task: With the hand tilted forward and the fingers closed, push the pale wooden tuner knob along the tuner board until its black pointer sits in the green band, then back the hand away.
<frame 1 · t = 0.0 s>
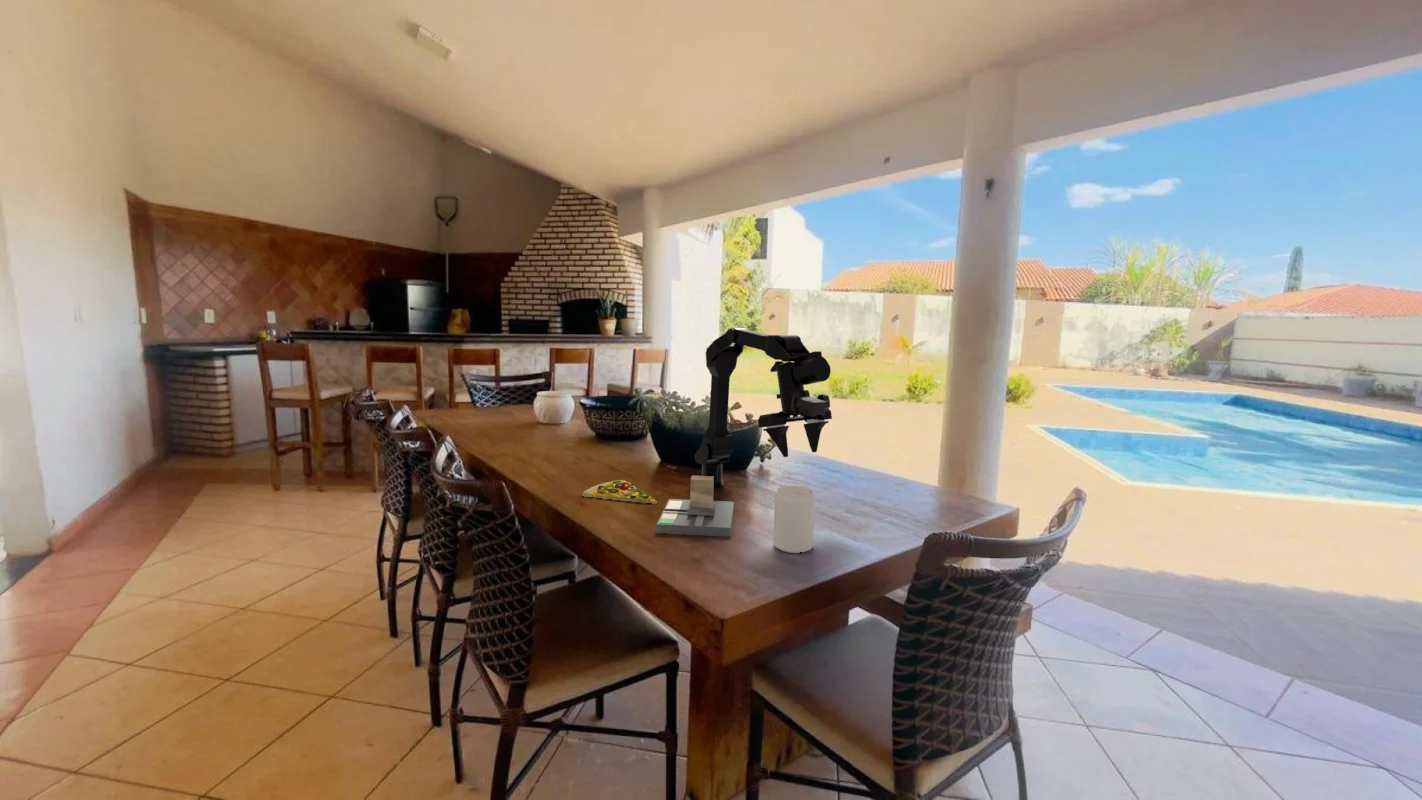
hand: (800, 454, 133), 15 cm above the table, tool pointing down, fingers open, 9 cm apart
pizza slice: (627, 499, 149), on the table
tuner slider: (689, 494, 130), point 6 cm above the table, slide at 0.0 cm
tuner board: (697, 520, 132), on the table
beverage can: (792, 548, 118), on the table
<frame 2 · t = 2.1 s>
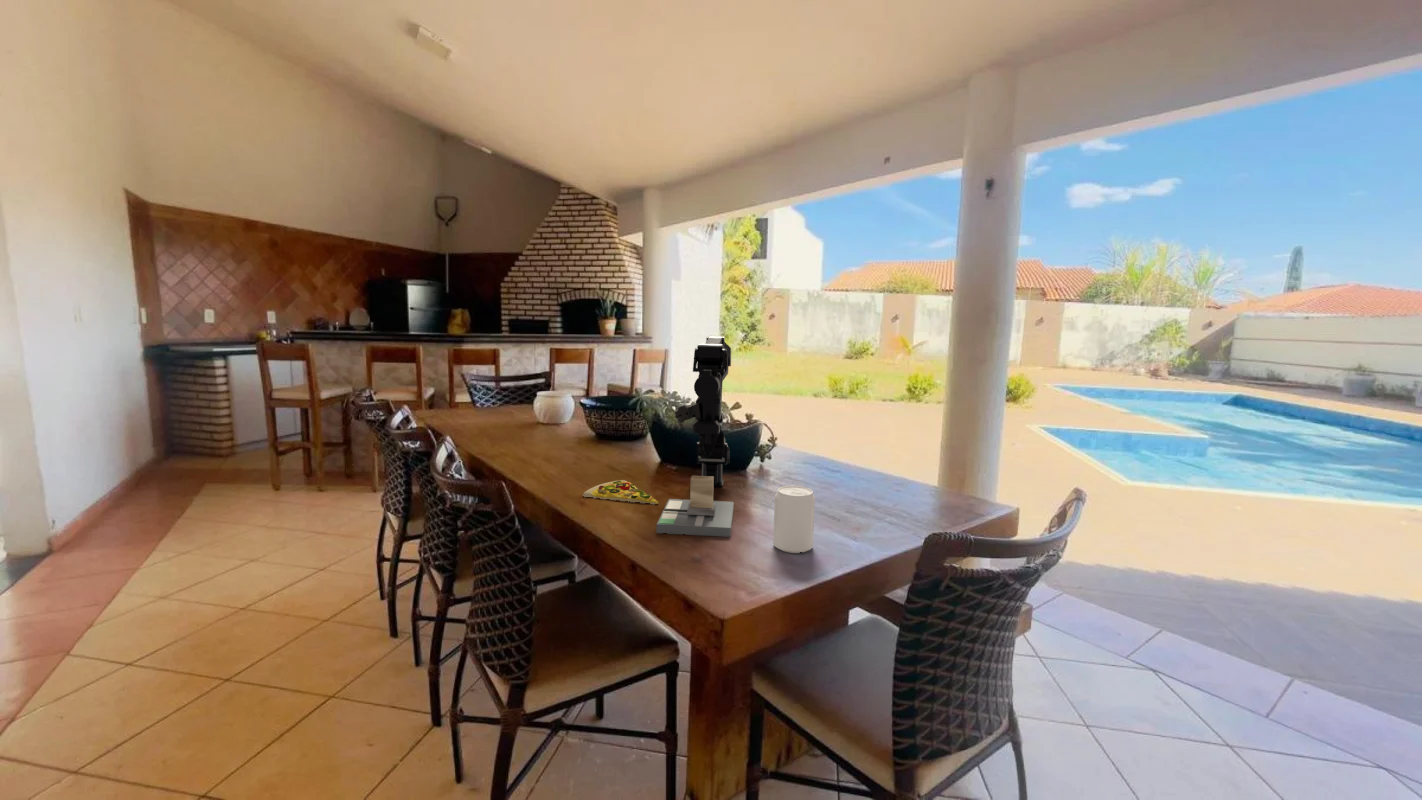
hand: (708, 455, 145), 12 cm above the table, tool pointing down, fingers open, 3 cm apart
nothing on the table moved.
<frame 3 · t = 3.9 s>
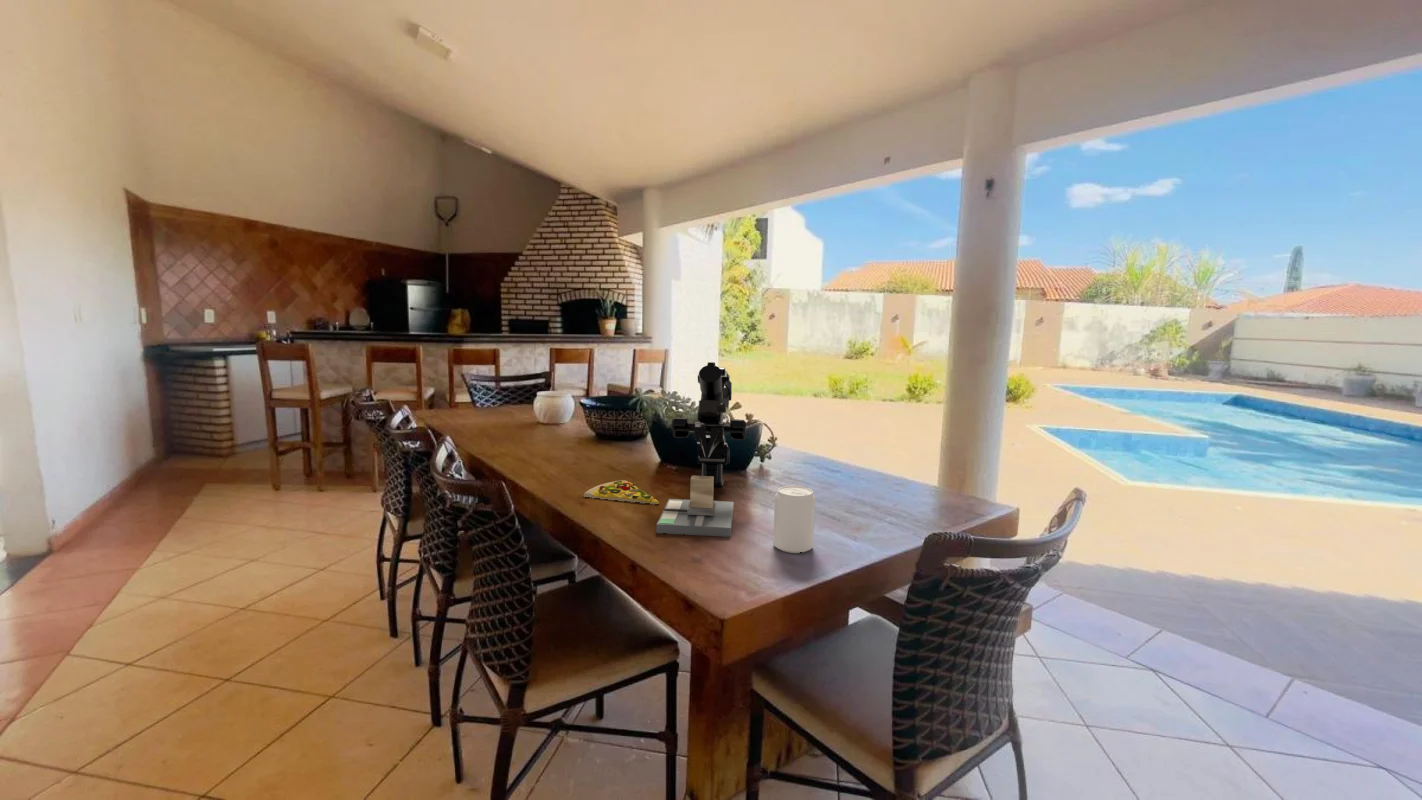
hand: (706, 457, 141), 12 cm above the table, tool tilted 45°, fingers closed
nothing on the table moved.
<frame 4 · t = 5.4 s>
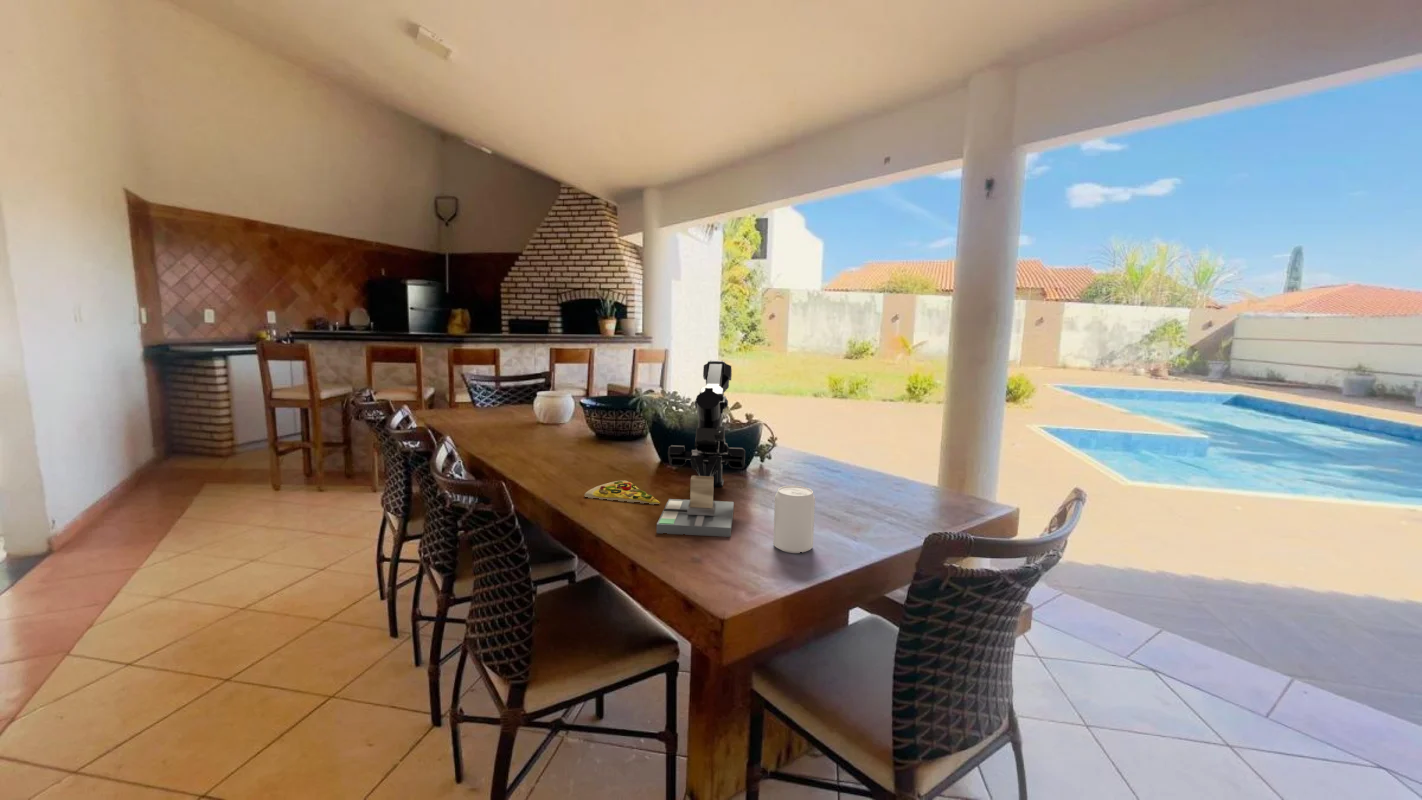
hand: (704, 487, 136), 7 cm above the table, tool tilted 45°, fingers closed
nothing on the table moved.
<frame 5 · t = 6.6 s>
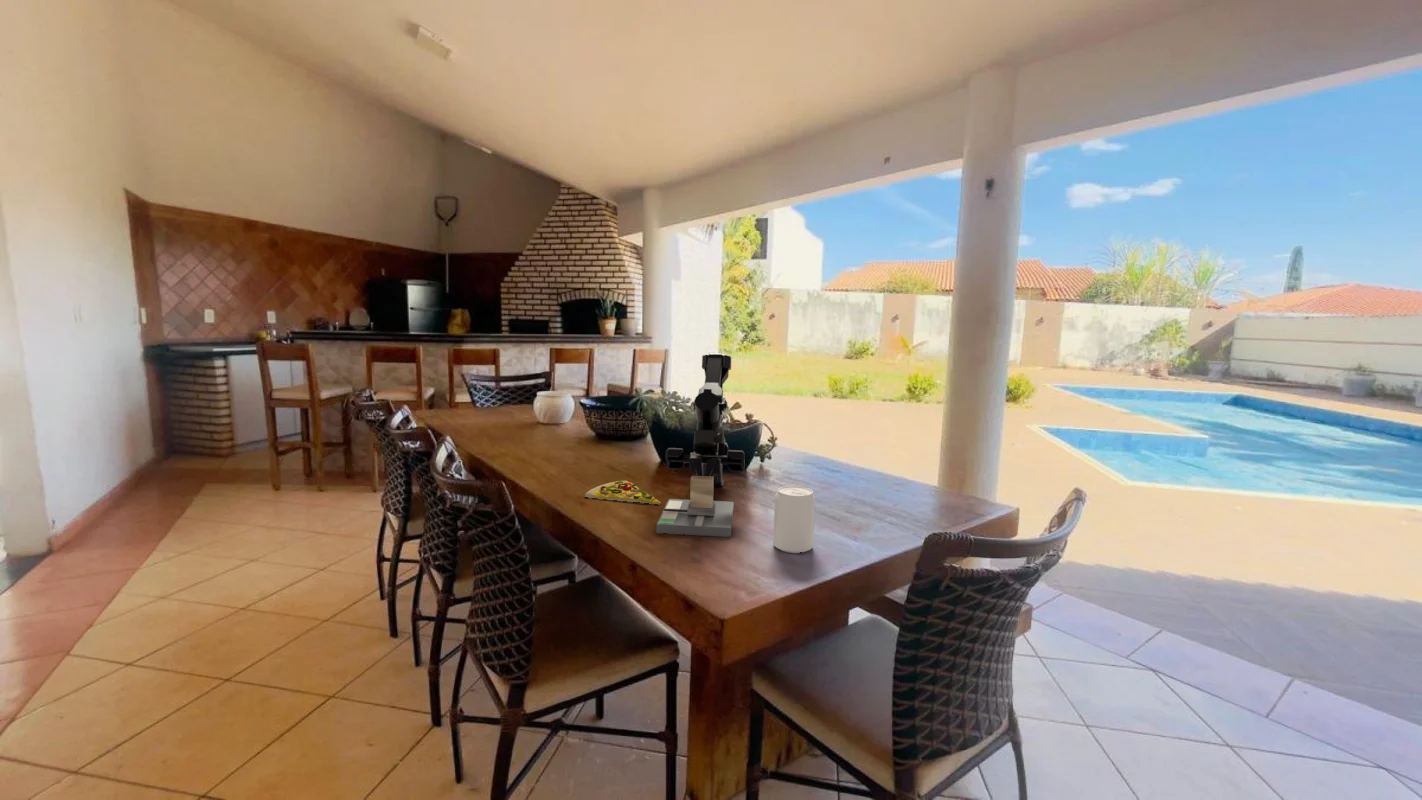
hand: (702, 491, 132), 7 cm above the table, tool tilted 45°, fingers closed, pressing on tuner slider
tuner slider: (689, 494, 130), point 6 cm above the table, slide at 0.1 cm, touching gripper
everything else where it was.
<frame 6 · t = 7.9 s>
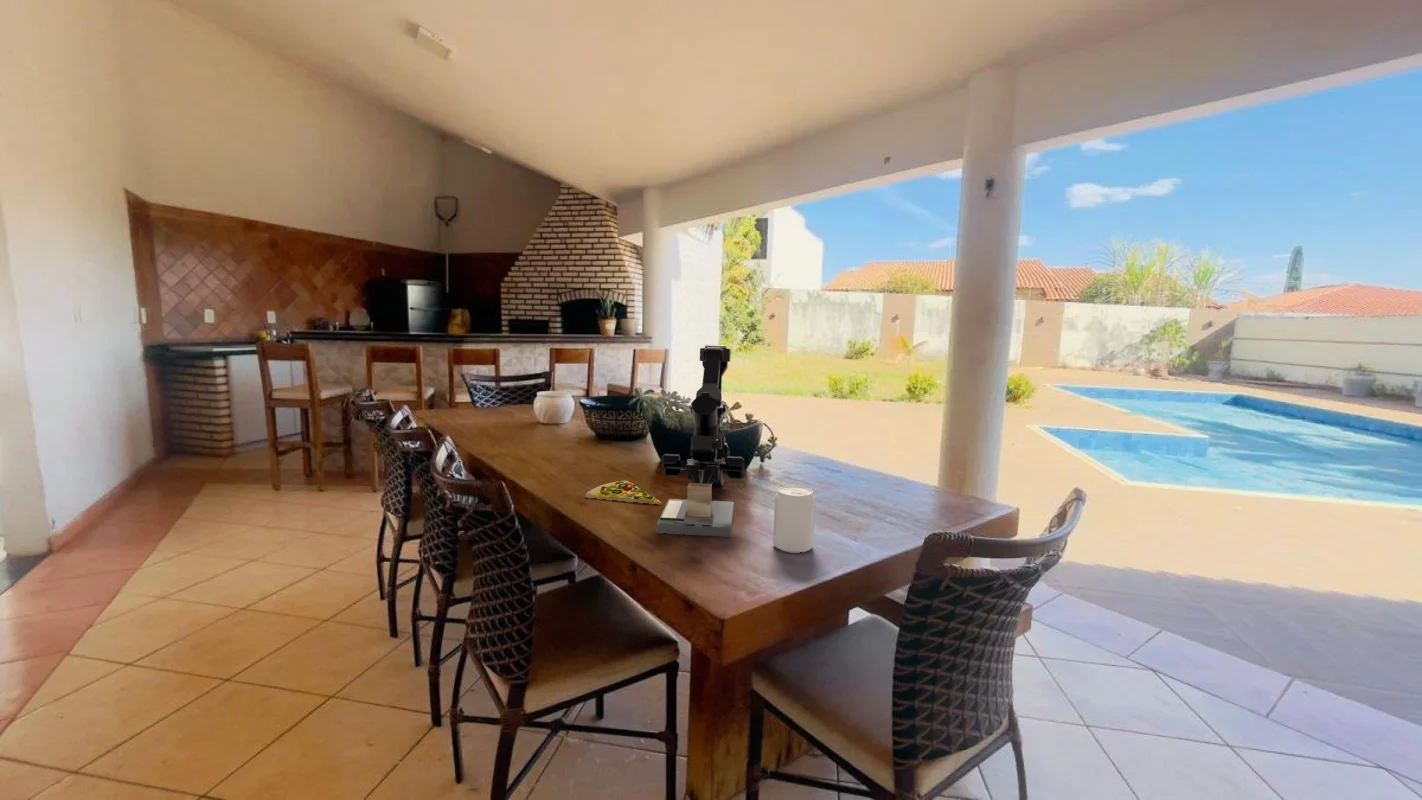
hand: (700, 499, 126), 7 cm above the table, tool tilted 45°, fingers closed, pressing on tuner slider
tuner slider: (686, 502, 124), point 6 cm above the table, slide at 6.1 cm, touching gripper
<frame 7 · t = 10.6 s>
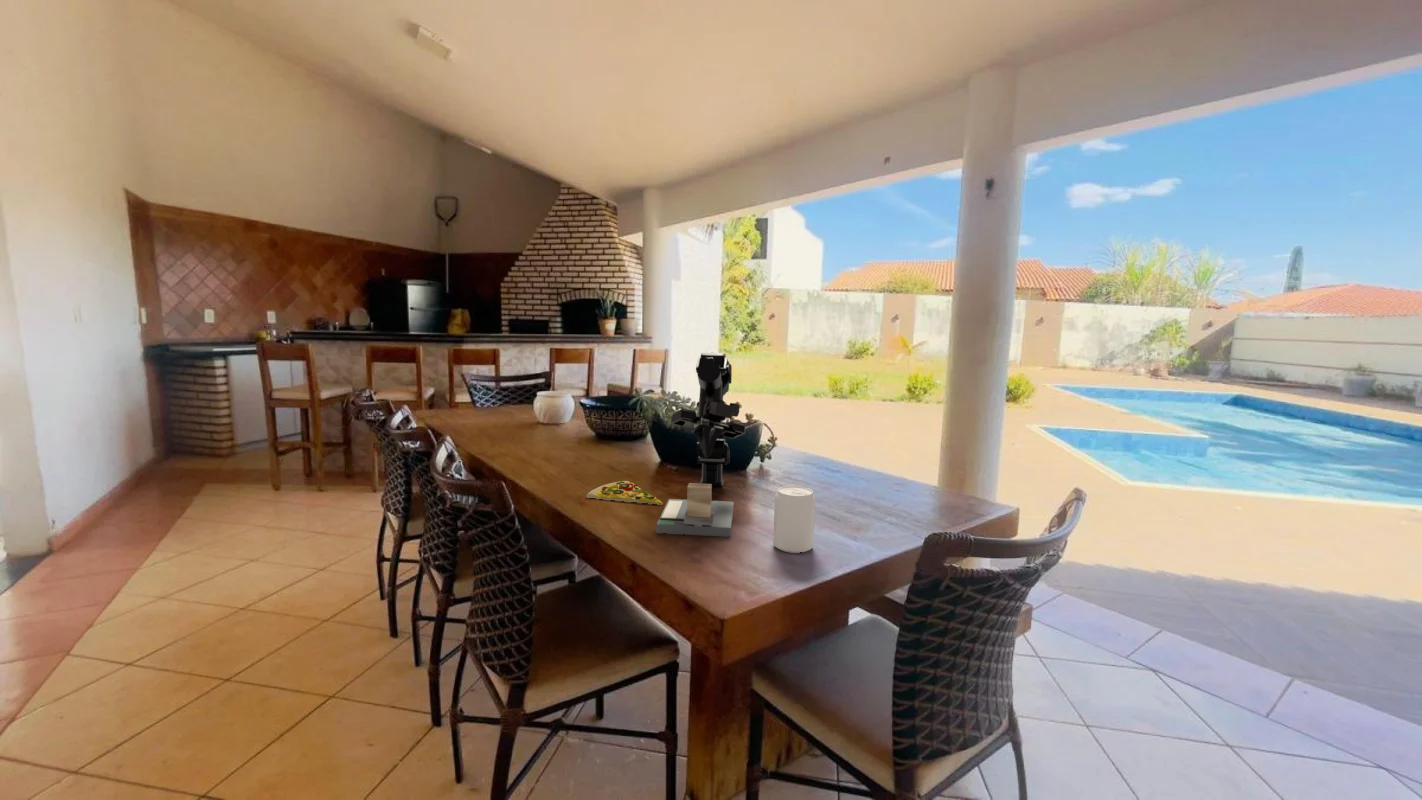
hand: (706, 456, 141), 13 cm above the table, tool tilted 30°, fingers closed
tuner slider: (686, 503, 124), point 6 cm above the table, slide at 6.2 cm
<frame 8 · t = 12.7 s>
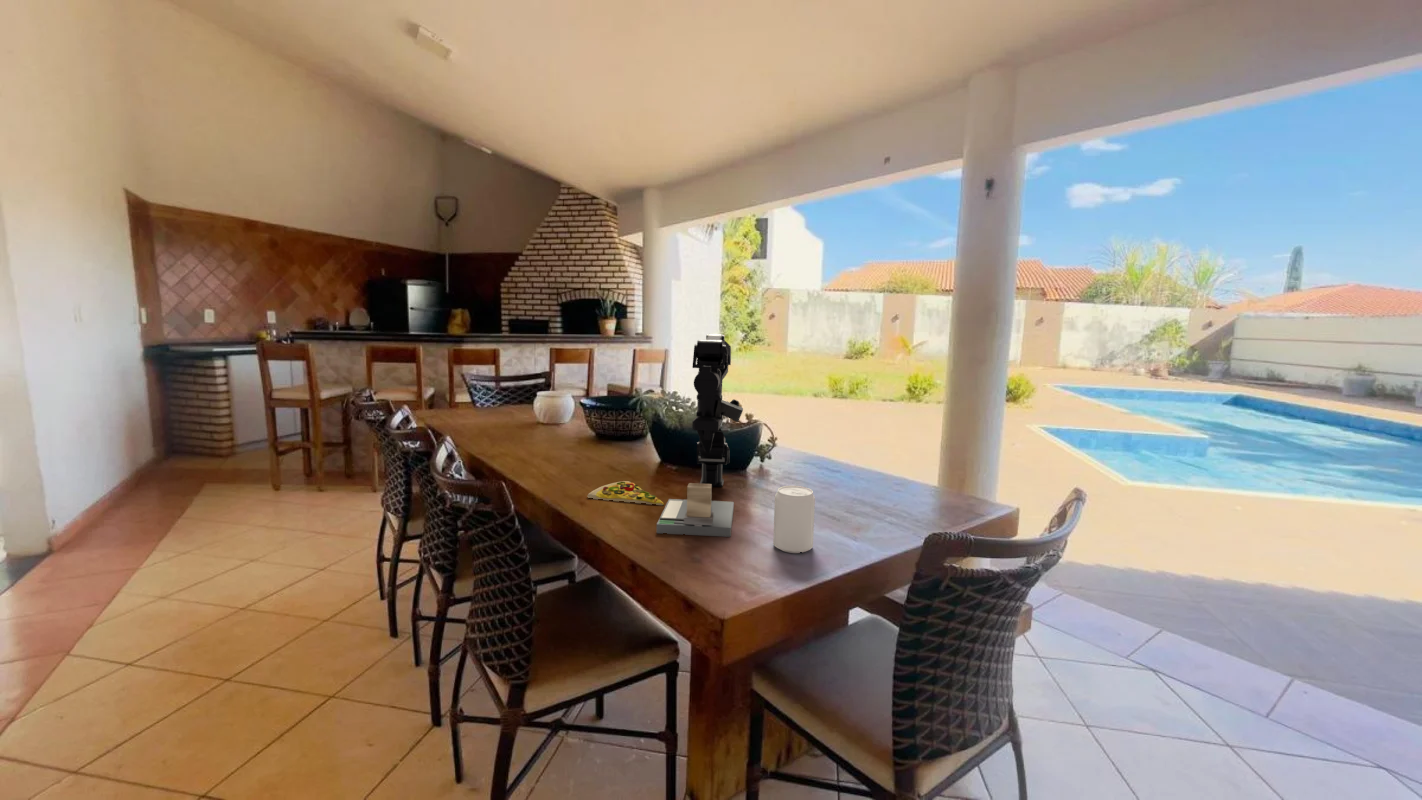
hand: (707, 452, 144), 13 cm above the table, tool pointing down, fingers closed
at the end: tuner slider slide at 6.2 cm; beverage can moved 0.2 cm from its start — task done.
